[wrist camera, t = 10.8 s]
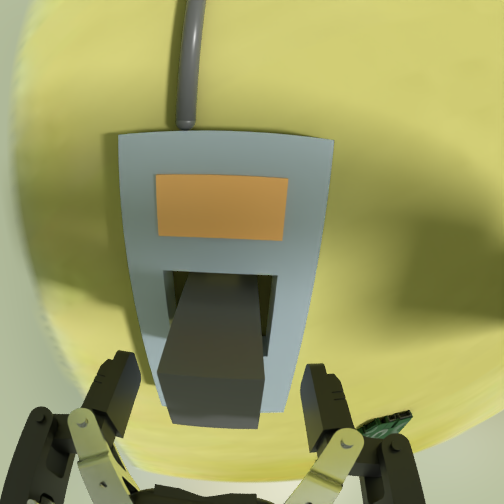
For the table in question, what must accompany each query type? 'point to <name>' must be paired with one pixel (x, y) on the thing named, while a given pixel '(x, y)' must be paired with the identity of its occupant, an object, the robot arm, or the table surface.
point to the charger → (215, 353)
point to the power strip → (223, 218)
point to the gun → (386, 426)
